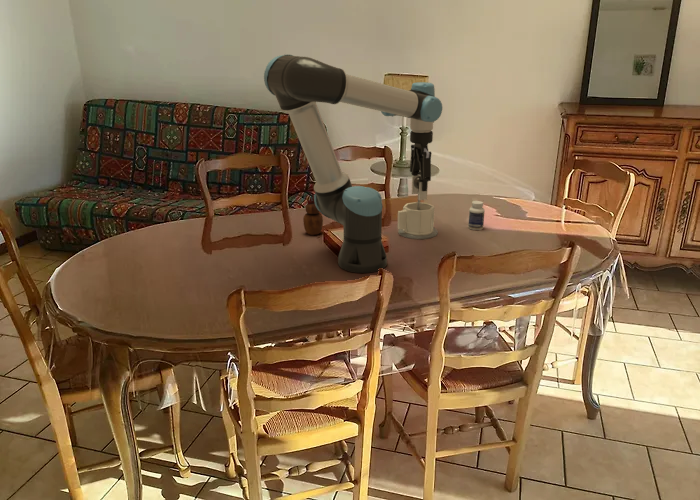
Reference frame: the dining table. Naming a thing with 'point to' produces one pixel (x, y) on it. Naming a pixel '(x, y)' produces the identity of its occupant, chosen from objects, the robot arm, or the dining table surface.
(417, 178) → the plunger
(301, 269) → the dining table surface
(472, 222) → the pill bottle
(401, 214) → the white faceted cup
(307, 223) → the wooden figurine
